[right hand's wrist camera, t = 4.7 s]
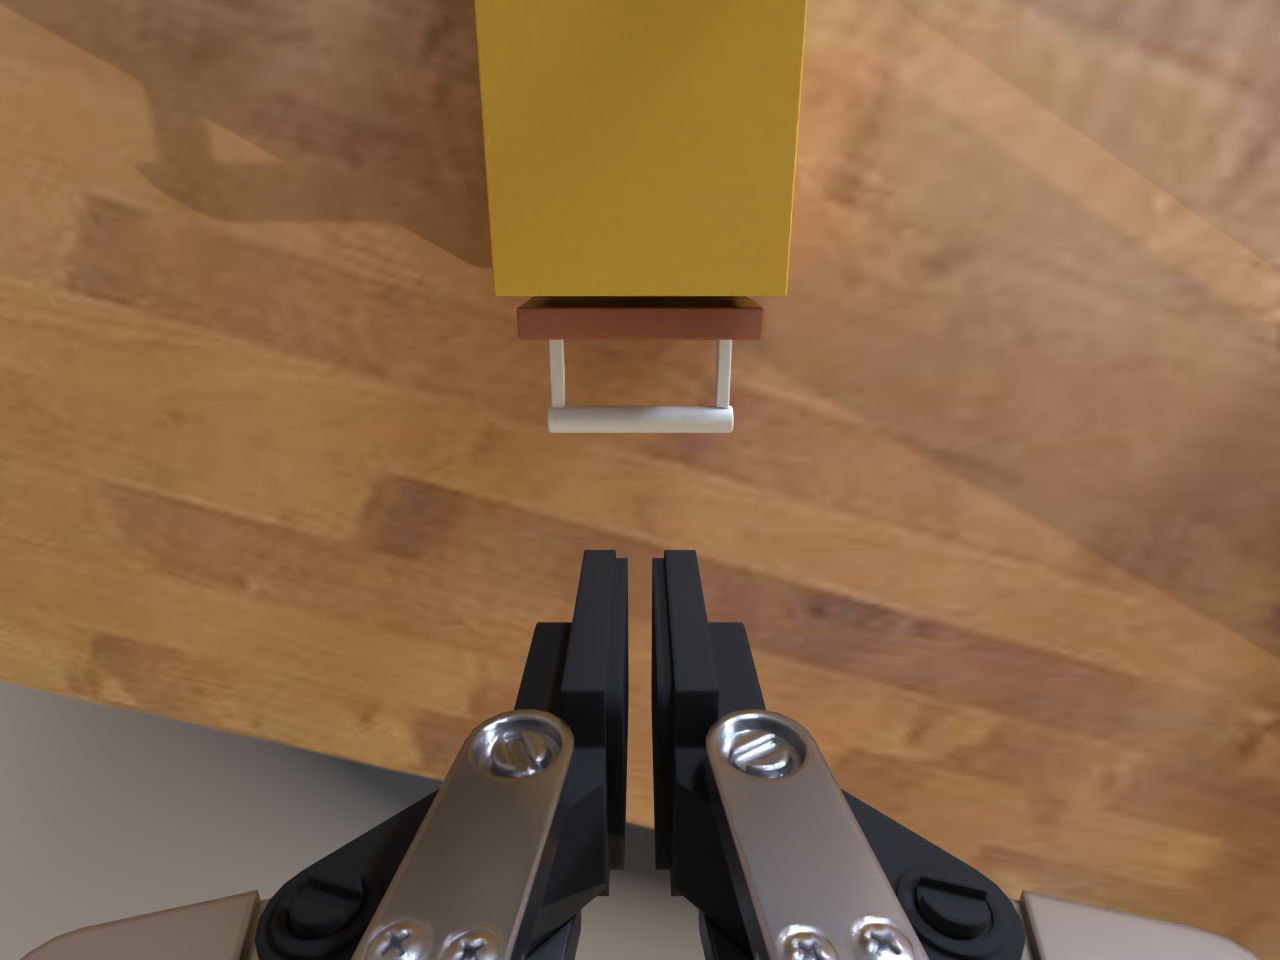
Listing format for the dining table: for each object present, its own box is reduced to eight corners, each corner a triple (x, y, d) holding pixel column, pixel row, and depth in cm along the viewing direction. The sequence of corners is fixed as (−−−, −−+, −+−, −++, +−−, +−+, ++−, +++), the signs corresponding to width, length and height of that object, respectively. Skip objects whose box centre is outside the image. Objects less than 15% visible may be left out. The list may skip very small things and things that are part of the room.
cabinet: (744, 274, 35) (786, 296, 25) (536, 274, 35) (494, 296, 25) (764, -134, 29) (830, -324, 19) (516, -134, 29) (450, -324, 19)
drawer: (728, 409, 37) (754, 465, 28) (552, 409, 37) (525, 466, 28) (749, -58, 30) (792, -169, 21) (531, -58, 30) (488, -169, 21)
